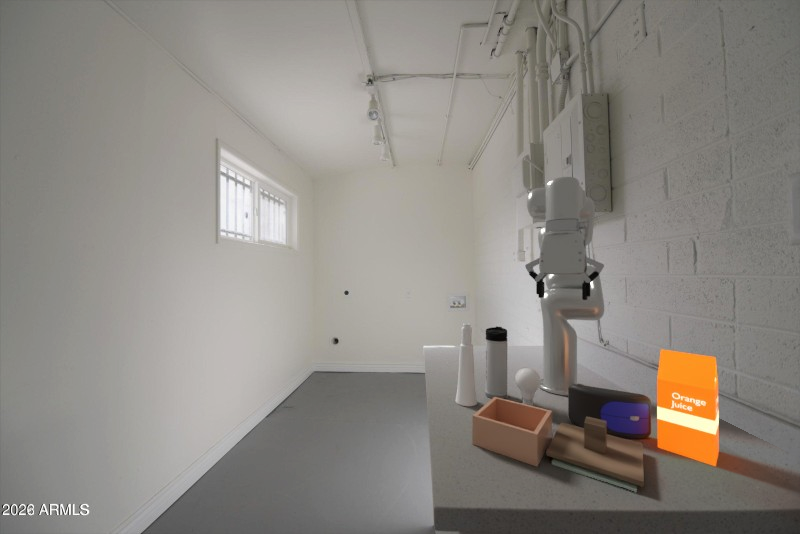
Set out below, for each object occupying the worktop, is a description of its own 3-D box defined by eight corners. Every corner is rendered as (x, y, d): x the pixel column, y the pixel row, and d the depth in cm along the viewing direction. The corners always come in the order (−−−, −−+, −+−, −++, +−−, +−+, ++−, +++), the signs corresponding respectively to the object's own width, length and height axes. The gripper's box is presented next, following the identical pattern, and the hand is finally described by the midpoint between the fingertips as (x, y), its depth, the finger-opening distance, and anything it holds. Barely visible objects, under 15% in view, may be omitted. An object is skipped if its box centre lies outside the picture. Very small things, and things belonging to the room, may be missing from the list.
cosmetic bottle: (453, 404, 87) (453, 324, 88) (457, 396, 93) (457, 321, 94) (475, 408, 85) (476, 326, 86) (478, 399, 91) (478, 322, 91)
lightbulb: (543, 415, 81) (543, 372, 81) (517, 412, 83) (517, 370, 83) (537, 405, 87) (537, 365, 88) (513, 403, 89) (513, 363, 89)
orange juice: (664, 435, 72) (663, 346, 72) (719, 451, 65) (718, 354, 65) (657, 447, 67) (656, 351, 67) (716, 467, 60) (715, 360, 60)
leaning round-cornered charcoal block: (568, 427, 75) (568, 387, 75) (568, 420, 79) (568, 381, 79) (654, 446, 67) (654, 401, 67) (650, 436, 71) (649, 394, 71)
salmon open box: (494, 421, 78) (494, 396, 78) (552, 438, 70) (552, 410, 70) (472, 444, 67) (472, 415, 67) (537, 466, 60) (537, 434, 60)
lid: (561, 428, 73) (560, 400, 74) (642, 450, 64) (642, 418, 65) (546, 458, 61) (546, 425, 62) (643, 490, 52) (643, 451, 53)
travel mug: (509, 394, 95) (509, 327, 96) (504, 401, 90) (504, 330, 90) (488, 390, 99) (488, 325, 99) (482, 397, 93) (482, 328, 93)
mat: (566, 431, 73) (566, 429, 73) (636, 450, 65) (636, 447, 65) (551, 464, 60) (551, 461, 60) (636, 493, 53) (636, 490, 53)
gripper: (605, 228, 76) (605, 299, 76) (529, 233, 86) (529, 295, 86) (602, 224, 70) (602, 301, 70) (521, 230, 80) (521, 297, 80)
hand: (562, 298), depth 78 cm, fingers open, 9 cm apart
